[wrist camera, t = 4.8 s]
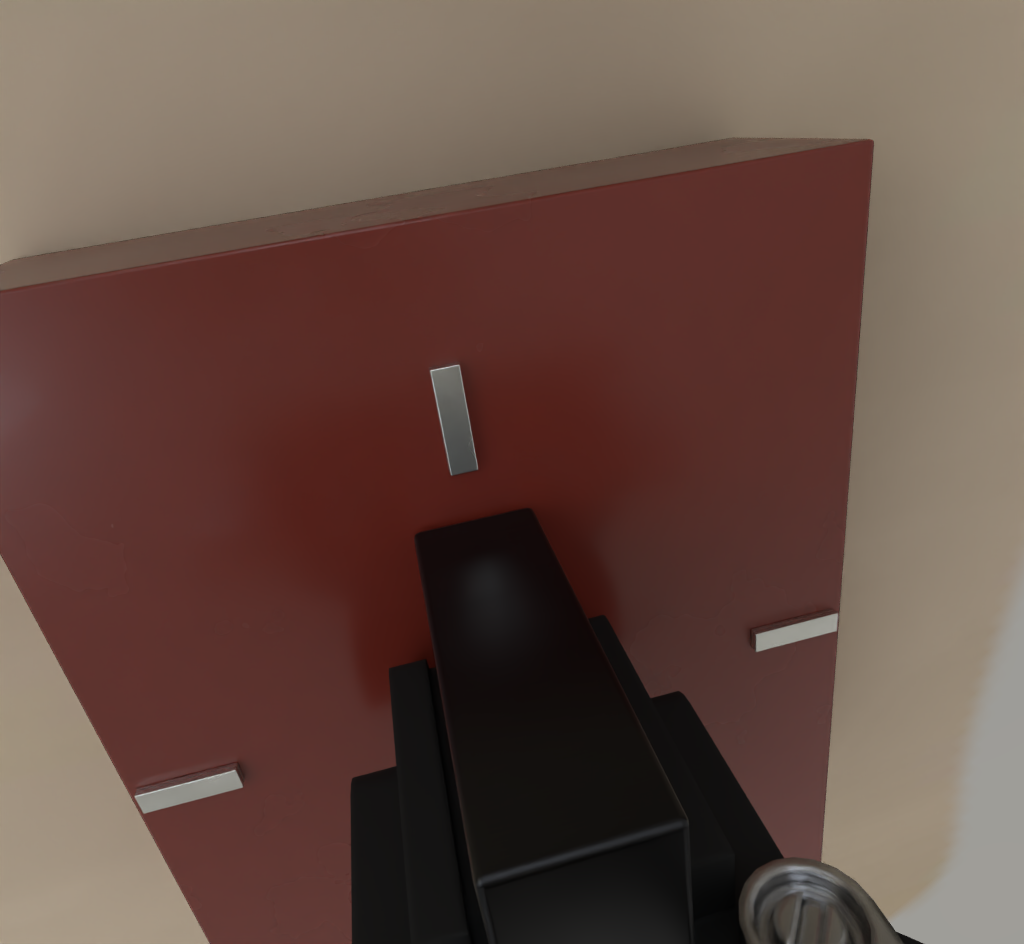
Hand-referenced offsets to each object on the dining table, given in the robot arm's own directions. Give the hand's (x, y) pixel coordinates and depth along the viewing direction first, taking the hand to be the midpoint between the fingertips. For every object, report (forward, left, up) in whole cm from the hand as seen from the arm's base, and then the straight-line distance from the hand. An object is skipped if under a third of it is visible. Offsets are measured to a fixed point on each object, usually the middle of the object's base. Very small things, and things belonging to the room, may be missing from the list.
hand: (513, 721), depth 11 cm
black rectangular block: (0, 0, 0) cm, 0 cm away
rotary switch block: (0, 0, -4) cm, 4 cm away
